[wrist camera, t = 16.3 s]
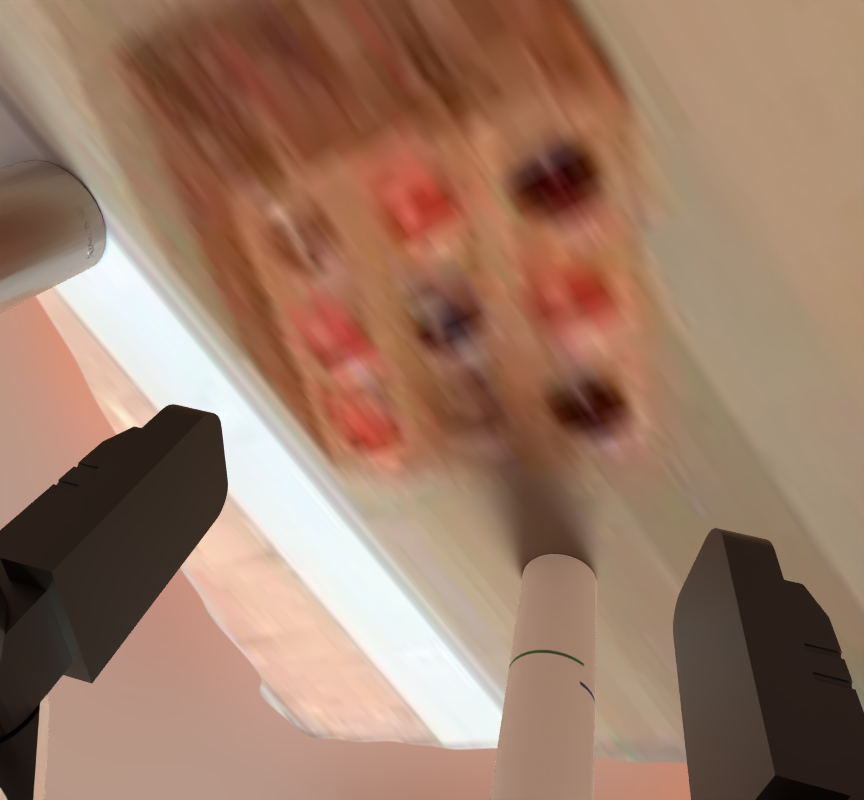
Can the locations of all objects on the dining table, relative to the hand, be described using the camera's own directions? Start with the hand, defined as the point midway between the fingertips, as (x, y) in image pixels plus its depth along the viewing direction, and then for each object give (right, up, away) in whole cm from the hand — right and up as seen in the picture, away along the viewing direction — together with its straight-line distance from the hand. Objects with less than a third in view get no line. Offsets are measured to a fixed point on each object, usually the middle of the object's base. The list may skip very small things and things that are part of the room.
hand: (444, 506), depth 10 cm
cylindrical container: (+12, -16, +51) cm, 55 cm away
